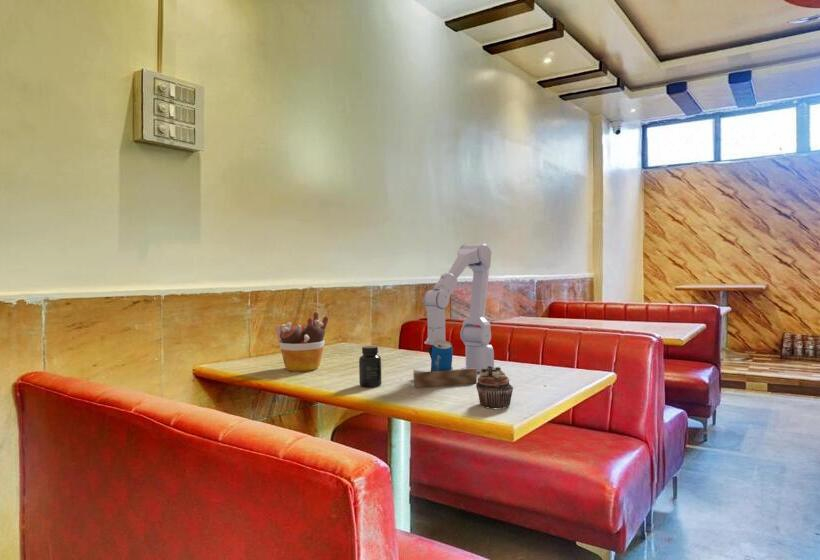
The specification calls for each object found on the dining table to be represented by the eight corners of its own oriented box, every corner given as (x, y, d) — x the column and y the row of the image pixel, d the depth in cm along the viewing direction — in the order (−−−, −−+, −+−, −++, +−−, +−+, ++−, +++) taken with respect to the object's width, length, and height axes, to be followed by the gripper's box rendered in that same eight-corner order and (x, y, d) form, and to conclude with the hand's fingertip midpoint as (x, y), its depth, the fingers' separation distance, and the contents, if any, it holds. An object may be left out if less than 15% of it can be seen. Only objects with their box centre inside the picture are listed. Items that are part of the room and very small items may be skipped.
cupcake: (509, 411, 138) (509, 371, 138) (472, 407, 142) (471, 369, 141) (516, 402, 147) (516, 365, 147) (481, 399, 151) (481, 363, 150)
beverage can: (426, 380, 172) (428, 345, 168) (435, 372, 177) (438, 338, 173) (445, 385, 169) (447, 350, 165) (453, 377, 174) (456, 343, 171)
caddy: (461, 375, 183) (460, 361, 182) (476, 383, 170) (476, 368, 170) (403, 379, 177) (403, 365, 177) (415, 388, 165) (415, 373, 165)
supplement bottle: (359, 383, 173) (359, 345, 172) (381, 382, 173) (380, 345, 173) (359, 388, 166) (358, 348, 165) (381, 387, 166) (381, 348, 166)
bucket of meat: (303, 375, 185) (302, 317, 185) (266, 371, 193) (265, 315, 192) (338, 365, 203) (337, 312, 202) (303, 362, 211) (302, 311, 210)
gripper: (417, 325, 181) (418, 366, 181) (432, 330, 167) (432, 374, 168) (437, 324, 183) (438, 364, 183) (453, 329, 169) (454, 373, 170)
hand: (437, 369), depth 176 cm, fingers closed
